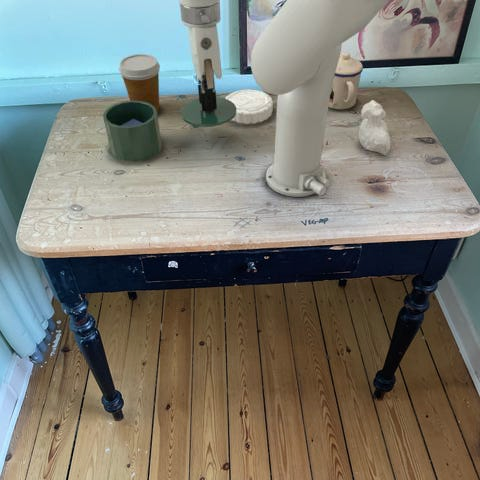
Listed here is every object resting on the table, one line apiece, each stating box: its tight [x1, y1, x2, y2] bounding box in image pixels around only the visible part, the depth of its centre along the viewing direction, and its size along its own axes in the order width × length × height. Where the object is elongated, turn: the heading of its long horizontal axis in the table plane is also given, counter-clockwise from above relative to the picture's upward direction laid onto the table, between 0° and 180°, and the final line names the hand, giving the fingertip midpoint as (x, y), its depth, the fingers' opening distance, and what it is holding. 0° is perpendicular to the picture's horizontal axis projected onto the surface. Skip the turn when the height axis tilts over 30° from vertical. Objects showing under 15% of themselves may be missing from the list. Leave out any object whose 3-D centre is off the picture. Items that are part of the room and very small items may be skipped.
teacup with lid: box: [328, 51, 364, 110], centre depth 120 cm, size 12×9×12 cm
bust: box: [358, 99, 391, 156], centre depth 108 cm, size 12×8×11 cm
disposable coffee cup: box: [118, 53, 161, 113], centre depth 118 cm, size 10×10×12 cm
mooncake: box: [225, 88, 274, 125], centre depth 120 cm, size 12×12×4 cm
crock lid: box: [179, 82, 237, 128], centre depth 106 cm, size 12×12×7 cm
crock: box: [102, 100, 163, 163], centre depth 109 cm, size 11×11×8 cm
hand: (208, 105), depth 107 cm, fingers closed on crock lid, 2 cm apart
